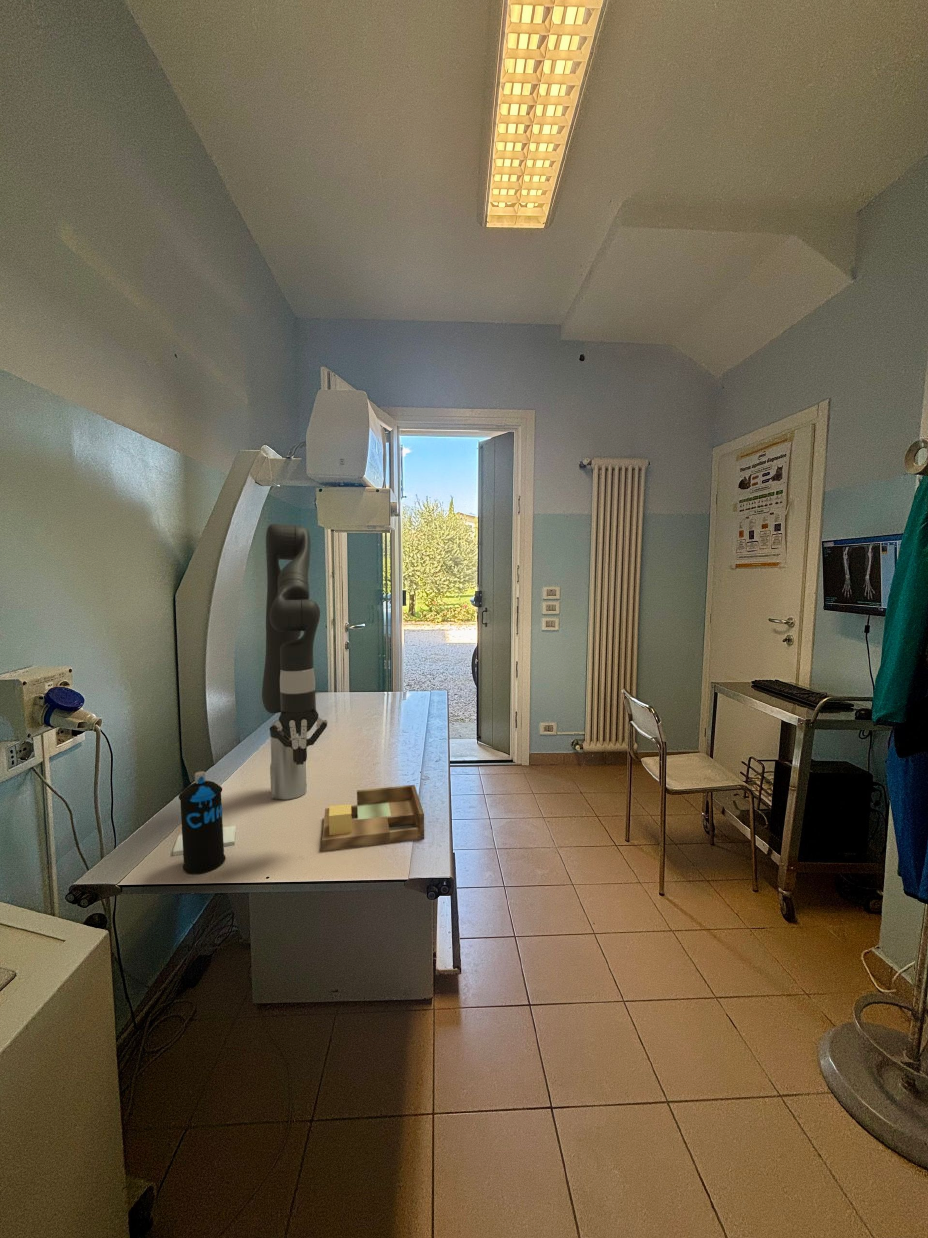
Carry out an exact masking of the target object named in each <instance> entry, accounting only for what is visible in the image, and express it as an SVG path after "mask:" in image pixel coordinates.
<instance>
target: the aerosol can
mask: <svg viewBox="0 0 928 1238" xmlns="http://www.w3.org/2000/svg"><path fill="white" fill-rule="evenodd" d="M222 792H223V787H222V786H221V785H219V784H218V783H216V782H214V781H211V780H206V772H205V771H202V770H201V771H197V772H195V773H194V782H193V783H191V784H189V785H187V786H186V787H185V788H184V789H183V790H182V791H181V792H180V794H179V795H178V799H179V801H180V802H179V803H180V817H181V818H180V820H181V834H182V840H183V854H182V855H183V865H182V871H183V872H185V873H187V874H190V875H200V874H205V873H208V872H212V871H214V870H216V869H218V868H219V867H221V866H222V865H223V864H224V862H225V861H226V859H227V858H226V855H225V849H224V848H225V847H224V844H223V827H224V825H223V806H222V803H223V802H222Z"/></svg>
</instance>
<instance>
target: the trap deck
mask: <svg viewBox="0 0 928 1238" xmlns="http://www.w3.org/2000/svg"><path fill="white" fill-rule="evenodd" d="M329 808H330V807H329ZM329 808H328V807H327V808H325V809H324V817H323V828H322V839H321V844H322V845H321V846H322V847H321V848H322V850H321V851H322V852H325V851H334V850H341V849H349V848H350V849H351V848H358V847H366V846H375V845H383V844H390V843H397V842H405V841H406V842H407V841H414V840H415V841H416V840H423V839H425V812H424V810H423V806H422V803H421V801H420V798H419V794H418V791H417V789H416V786H415V784H410V785H409V784H407V785H399V786H387V787H378V788H370V789H358V790H356V805H351V816H352V833H343V834H335V835H329Z"/></svg>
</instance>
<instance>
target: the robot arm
mask: <svg viewBox="0 0 928 1238" xmlns="http://www.w3.org/2000/svg"><path fill="white" fill-rule="evenodd" d="M265 552H266V553H265V554H266V578H267V579H266V581H267V583H266V584H267V588H266V605H265V607H266V609H265V658H264V669H263V670H264V671H263V678H262V686H261V687H262V689H261V699H262V704H263V707H264V709H265V710H266V712H267V713H269V714H279V713H280V715H279V716H278V720H275V721H274V723H272V724H271V725H270V726H269V735H270V737H269V738H270V739H269V740H270V742H269V743H270V761H271V762H270V765H269V776H270V797H271V798H270V799H271V800H273V799H278V800H294V799H297V798H299V797H301V796H304V795H305V794H306V793H307V787H308V785H307V760H308V747H309V746H313V745H315V743H316V742H317V741H318V739H319V738H320V737H321V735H322V734H323V733H324V731H325V730H326V728H328V721H327V719H323V718H321V717H319V713H318V710H317V697H316V686H317V685H316V677H315V669H314V643H315V637H316V634H317V629H318V625H319V623H320V620H321V619H320V618H321V609H320V606H319V604H318V603H317V602H316V601H315V600H313V599H310V595H311V594H310V585H309V570H310V569H309V567H310V562H311V561H310V560H311V559H310V558H311V536H310V532H309V530H308V528H307V527H305V526H300V525H291V524H290V525H289V524H278V523H271V524H269V525H268V527H267V528H266V534H265ZM280 560H283V561H284V560H285V561H286V560H287V561H289V562H288V563H287V564H285V566H284V567H282V569H281V567H280V563H279V562H280ZM302 632H303V635H302V636H301V633H302ZM300 636H301V637H300ZM315 723H316V724H315ZM315 725H316V726H315ZM314 726H315V728H316V729H315V731H314V732H313V733H312V734H311V736H310V737H309V738H308V732H310V731H311V729H312V728H313V727H314Z"/></svg>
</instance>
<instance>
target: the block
mask: <svg viewBox="0 0 928 1238" xmlns="http://www.w3.org/2000/svg"><path fill="white" fill-rule="evenodd" d="M351 806H352V804H340V805H331V806H329V835H335V834H343V833H352V816H351Z"/></svg>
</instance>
